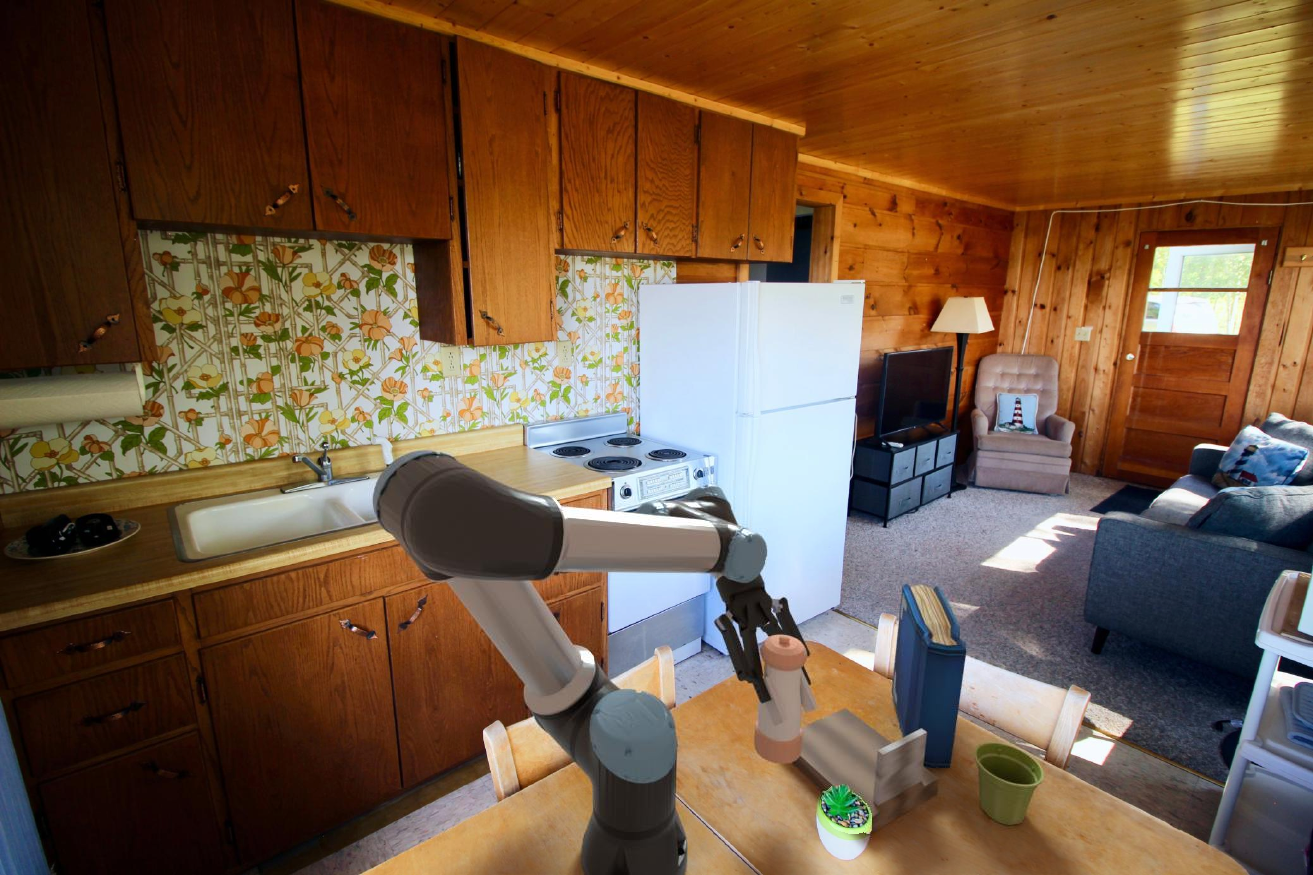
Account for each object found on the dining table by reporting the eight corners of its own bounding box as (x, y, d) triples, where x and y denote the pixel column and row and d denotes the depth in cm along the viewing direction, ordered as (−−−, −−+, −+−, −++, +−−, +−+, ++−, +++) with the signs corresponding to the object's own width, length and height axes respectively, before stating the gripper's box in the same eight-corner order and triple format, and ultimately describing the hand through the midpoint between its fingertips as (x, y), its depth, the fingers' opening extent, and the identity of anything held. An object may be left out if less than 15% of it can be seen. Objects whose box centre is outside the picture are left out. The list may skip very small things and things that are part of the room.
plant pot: (970, 778, 103) (976, 733, 101) (1036, 801, 98) (1043, 755, 96) (965, 818, 95) (971, 770, 93) (1036, 845, 90) (1044, 795, 88)
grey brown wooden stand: (867, 835, 92) (874, 766, 89) (779, 751, 109) (782, 691, 106) (937, 794, 99) (945, 729, 97) (844, 721, 116) (848, 665, 114)
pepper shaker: (751, 759, 94) (758, 645, 90) (755, 728, 101) (761, 621, 97) (800, 768, 92) (809, 652, 88) (801, 736, 99) (809, 627, 95)
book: (956, 779, 103) (973, 644, 97) (911, 772, 104) (925, 639, 99) (927, 698, 123) (940, 583, 118) (890, 694, 125) (901, 580, 119)
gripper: (767, 570, 109) (827, 704, 99) (679, 592, 100) (735, 742, 90) (789, 553, 104) (856, 692, 93) (698, 575, 95) (760, 731, 84)
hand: (796, 716), depth 91 cm, fingers closed on pepper shaker, 5 cm apart
